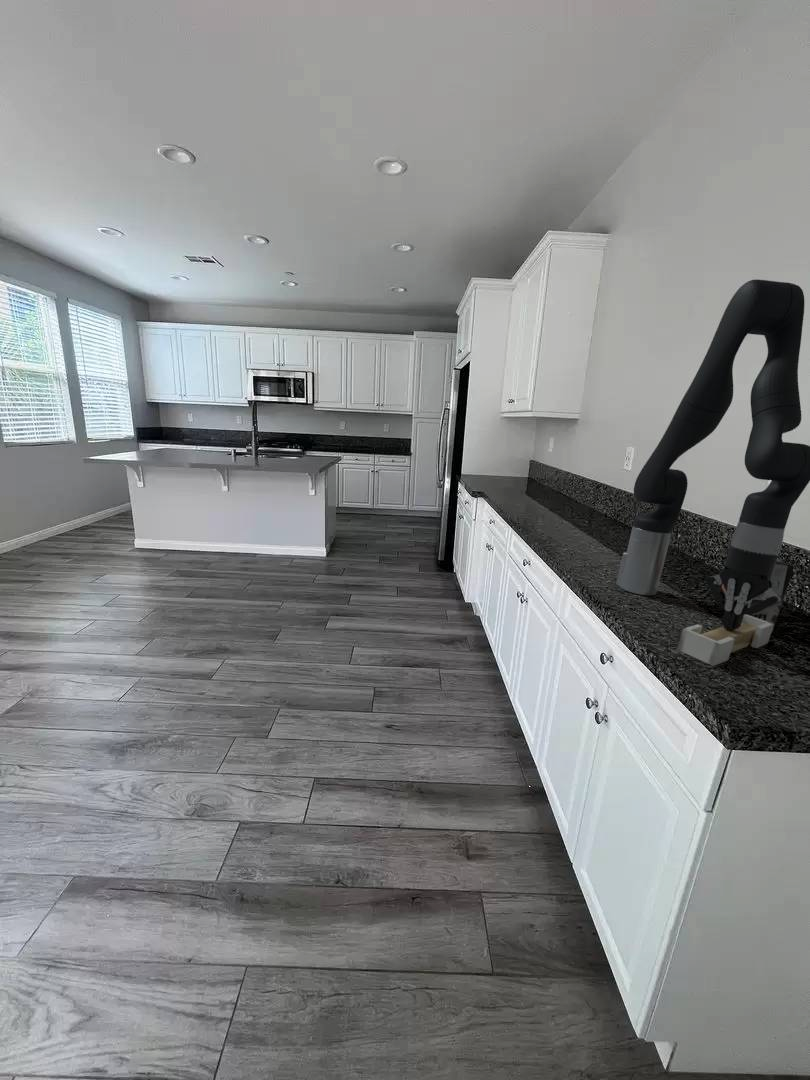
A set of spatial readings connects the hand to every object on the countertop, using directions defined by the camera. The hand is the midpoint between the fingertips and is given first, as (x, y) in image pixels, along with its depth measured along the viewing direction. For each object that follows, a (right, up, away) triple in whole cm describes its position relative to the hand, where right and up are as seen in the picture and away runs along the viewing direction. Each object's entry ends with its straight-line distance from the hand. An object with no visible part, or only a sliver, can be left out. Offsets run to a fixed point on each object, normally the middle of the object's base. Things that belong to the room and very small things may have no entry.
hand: (729, 628), depth 89 cm
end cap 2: (+7, -3, +6) cm, 10 cm away
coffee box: (+15, -2, +15) cm, 22 cm away
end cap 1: (-8, -4, -4) cm, 10 cm away
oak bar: (-1, -4, 0) cm, 4 cm away
